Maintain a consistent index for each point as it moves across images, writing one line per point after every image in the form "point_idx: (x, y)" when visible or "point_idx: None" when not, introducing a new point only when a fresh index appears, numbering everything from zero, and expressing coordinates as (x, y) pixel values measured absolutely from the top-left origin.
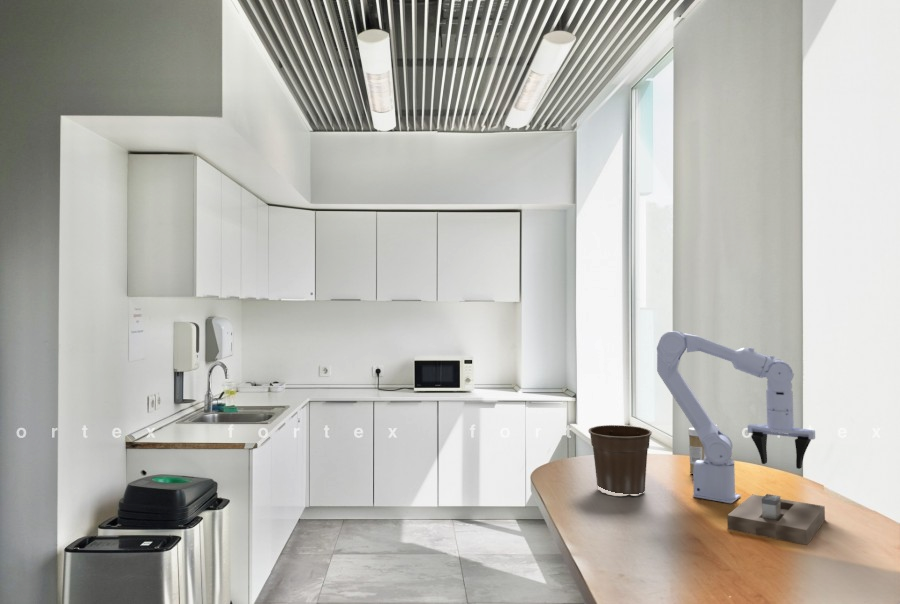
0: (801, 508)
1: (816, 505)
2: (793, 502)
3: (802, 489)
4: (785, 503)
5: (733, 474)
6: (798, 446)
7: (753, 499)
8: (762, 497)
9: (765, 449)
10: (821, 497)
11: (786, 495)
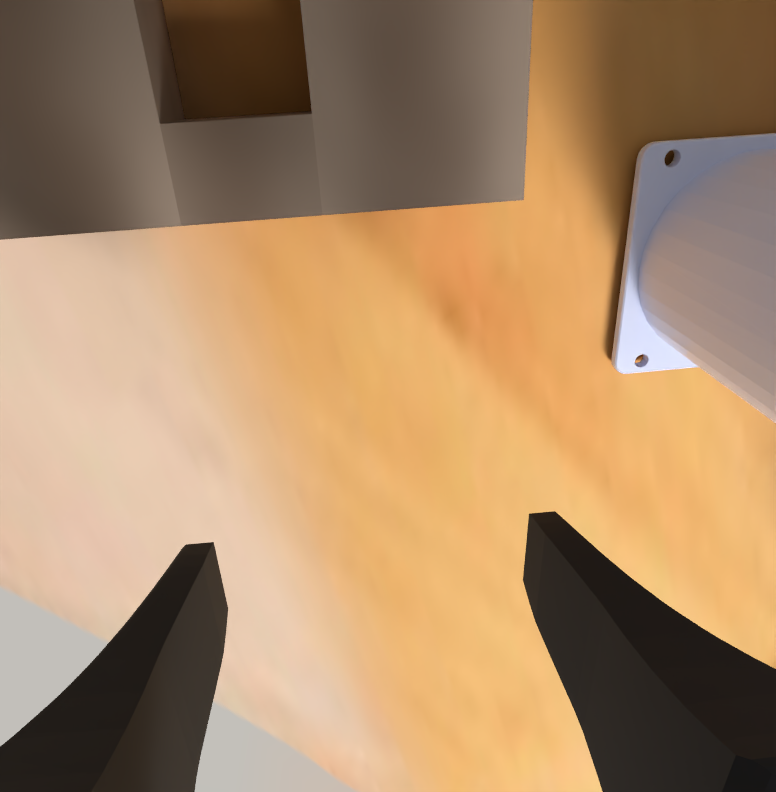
0: (45, 4)
1: (18, 218)
2: (186, 178)
3: (364, 698)
4: (231, 119)
5: (751, 316)
6: (60, 769)
7: (479, 18)
8: (432, 155)
9: (584, 695)
10: (244, 638)
11: (395, 564)
